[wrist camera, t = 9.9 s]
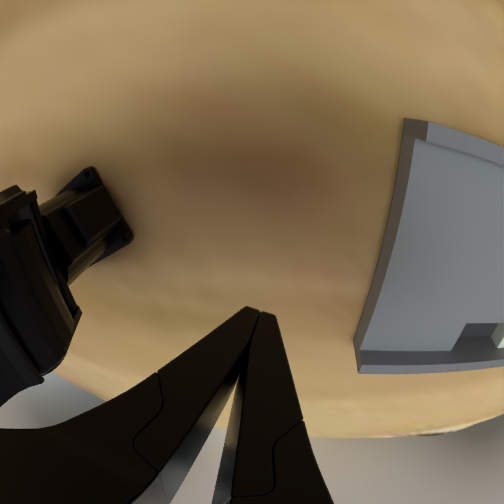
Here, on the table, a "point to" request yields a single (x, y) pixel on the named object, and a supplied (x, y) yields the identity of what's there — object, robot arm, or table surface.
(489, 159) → the box
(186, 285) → the table surface
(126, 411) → the robot arm
